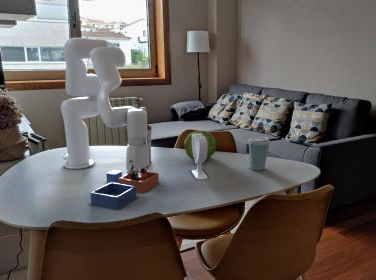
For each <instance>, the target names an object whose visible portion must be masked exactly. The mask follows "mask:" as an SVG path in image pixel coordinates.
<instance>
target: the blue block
mask: <svg viewBox="0 0 376 280" xmlns="http://www.w3.org/2000/svg"><path fill="white" fill-rule="evenodd" d="M105 174H106V183H107V184H108V183H110V182H112V183H118V184H119V178H120V177H122V176H123V171H122V170H116V169H112V170H110V171H108V172H106V173H105Z"/></svg>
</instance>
